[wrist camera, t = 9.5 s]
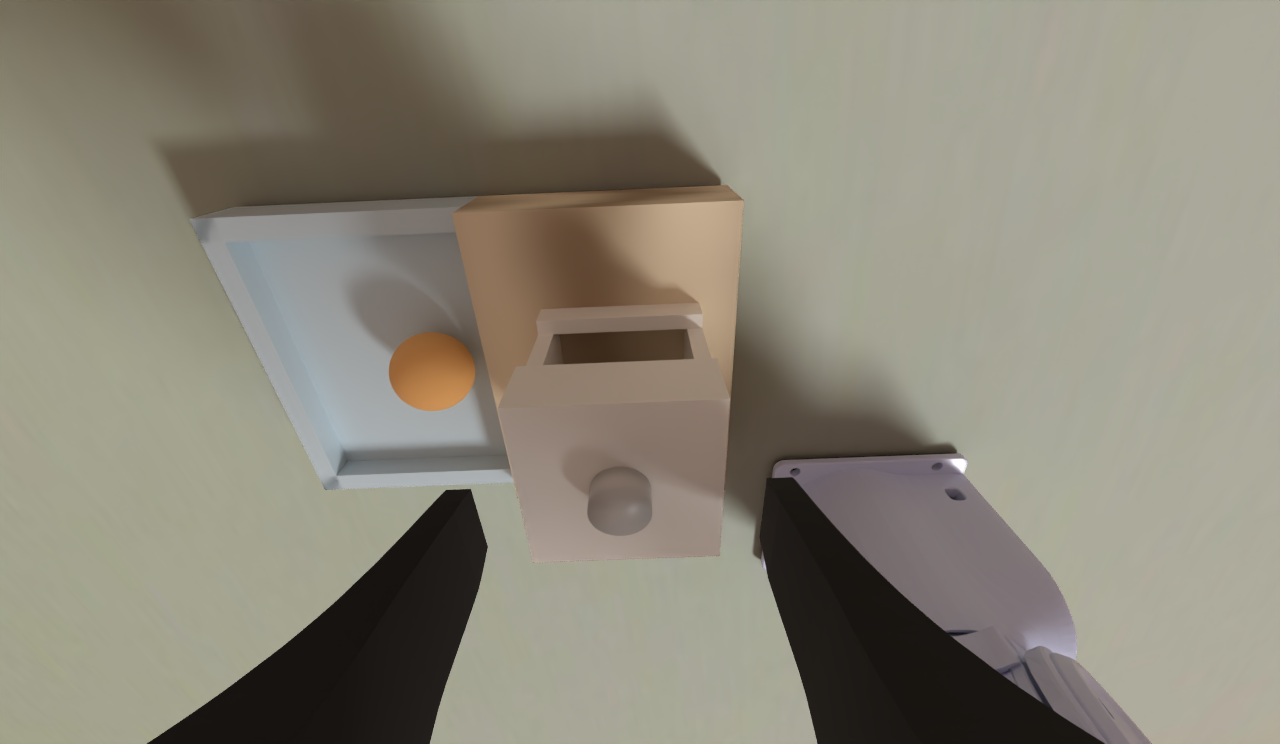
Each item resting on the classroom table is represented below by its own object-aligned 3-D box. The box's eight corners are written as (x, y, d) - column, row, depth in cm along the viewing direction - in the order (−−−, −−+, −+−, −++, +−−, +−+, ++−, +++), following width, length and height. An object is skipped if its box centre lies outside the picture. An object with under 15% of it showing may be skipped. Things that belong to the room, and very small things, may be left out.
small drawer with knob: (698, 302, 16) (736, 419, 10) (695, 429, 19) (724, 580, 13) (541, 309, 16) (488, 428, 10) (560, 435, 19) (527, 587, 13)
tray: (479, 196, 17) (461, 206, 15) (530, 453, 23) (522, 482, 21) (233, 207, 17) (189, 218, 16) (348, 460, 23) (324, 489, 22)
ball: (421, 313, 19) (481, 324, 18) (441, 375, 20) (498, 389, 19) (356, 350, 16) (422, 365, 15) (386, 417, 18) (447, 435, 17)
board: (727, 185, 17) (743, 200, 14) (714, 446, 23) (724, 490, 20) (479, 196, 17) (451, 213, 15) (530, 453, 23) (517, 498, 21)
